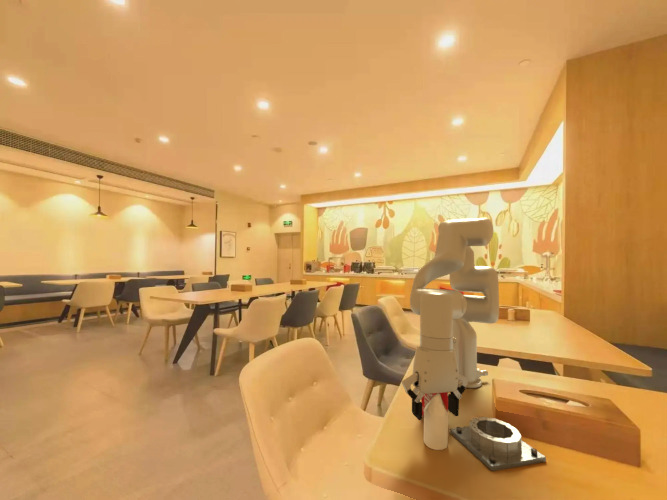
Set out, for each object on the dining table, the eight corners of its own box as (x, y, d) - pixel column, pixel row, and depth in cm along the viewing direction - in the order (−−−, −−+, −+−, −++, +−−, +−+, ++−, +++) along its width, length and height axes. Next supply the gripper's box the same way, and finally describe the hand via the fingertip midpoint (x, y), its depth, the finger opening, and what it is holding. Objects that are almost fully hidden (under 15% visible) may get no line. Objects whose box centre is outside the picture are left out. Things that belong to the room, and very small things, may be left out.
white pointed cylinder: (429, 385, 75) (452, 391, 71) (429, 433, 74) (452, 442, 71) (419, 392, 70) (443, 400, 67) (419, 443, 70) (443, 454, 66)
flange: (496, 426, 78) (496, 411, 78) (545, 461, 64) (545, 442, 64) (450, 432, 74) (450, 416, 75) (491, 471, 61) (491, 451, 61)
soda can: (450, 427, 77) (450, 381, 77) (422, 424, 78) (422, 378, 79) (445, 414, 84) (445, 371, 84) (420, 411, 85) (420, 369, 86)
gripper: (457, 338, 77) (456, 405, 76) (396, 340, 73) (395, 411, 72) (477, 345, 69) (477, 420, 68) (411, 348, 65) (410, 427, 64)
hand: (435, 415), depth 70 cm, fingers open, 9 cm apart
